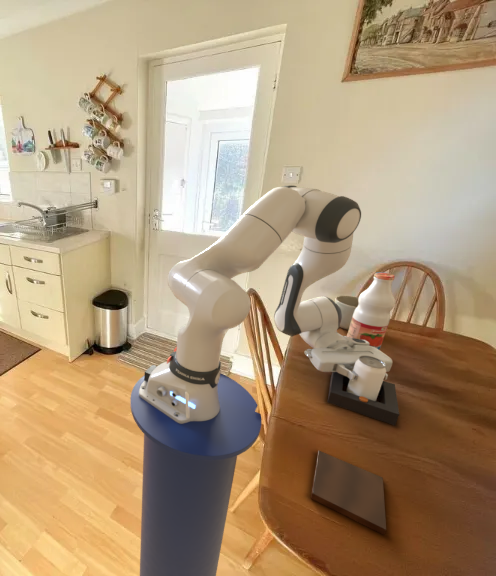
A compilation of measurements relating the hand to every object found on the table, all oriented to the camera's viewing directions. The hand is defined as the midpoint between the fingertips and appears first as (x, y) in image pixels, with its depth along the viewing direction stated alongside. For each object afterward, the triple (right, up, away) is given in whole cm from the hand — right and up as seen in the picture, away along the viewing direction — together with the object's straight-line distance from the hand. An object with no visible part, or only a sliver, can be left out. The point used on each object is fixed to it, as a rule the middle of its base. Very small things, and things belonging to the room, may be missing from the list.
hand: (370, 377), depth 82 cm
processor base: (0, -7, +4) cm, 8 cm away
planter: (+26, +8, +42) cm, 50 cm away
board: (-22, -16, -21) cm, 34 cm away
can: (0, -7, +4) cm, 8 cm away
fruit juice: (+17, +2, +25) cm, 31 cm away
